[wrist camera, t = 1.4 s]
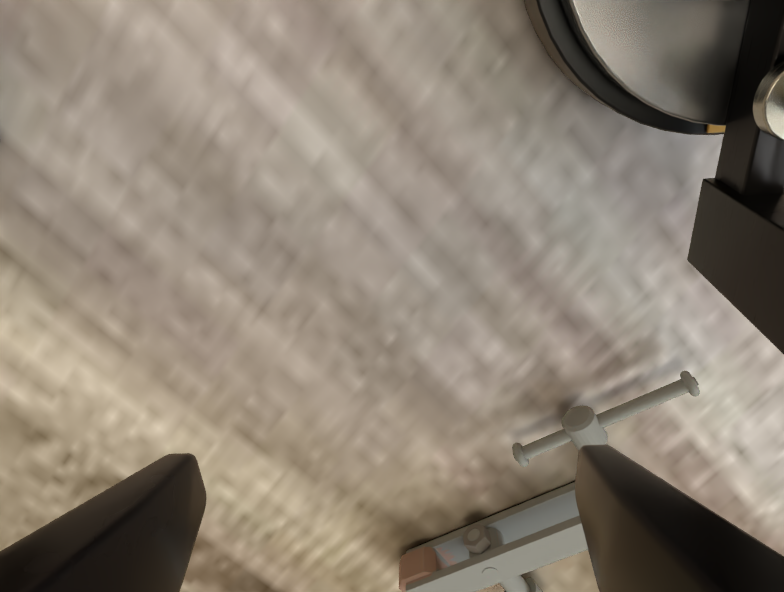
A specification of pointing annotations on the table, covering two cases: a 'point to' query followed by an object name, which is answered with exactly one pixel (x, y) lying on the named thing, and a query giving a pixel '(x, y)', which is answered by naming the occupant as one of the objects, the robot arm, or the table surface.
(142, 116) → the table surface
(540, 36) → the swivel base
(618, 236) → the table surface
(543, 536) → the clamp
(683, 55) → the swivel clamp
